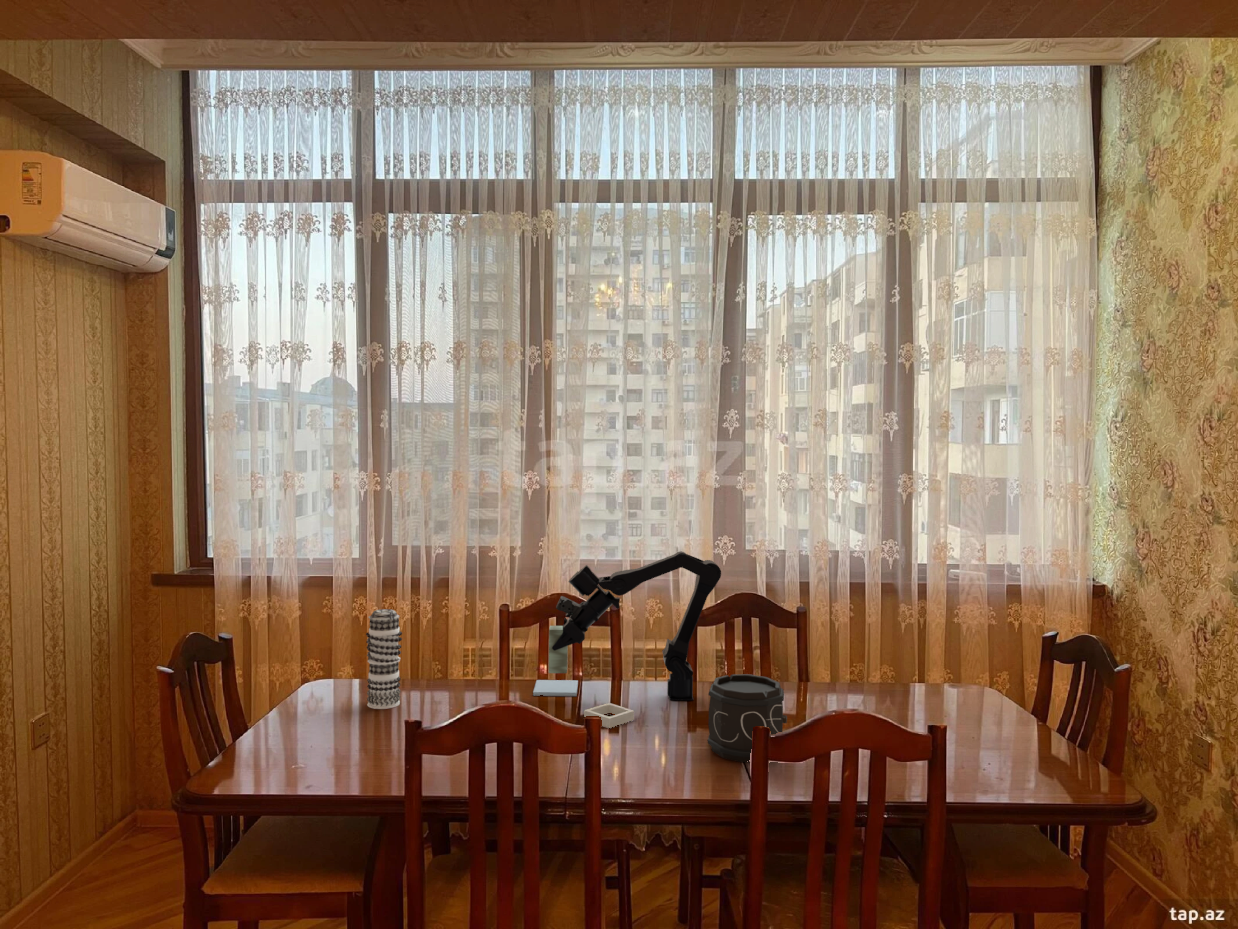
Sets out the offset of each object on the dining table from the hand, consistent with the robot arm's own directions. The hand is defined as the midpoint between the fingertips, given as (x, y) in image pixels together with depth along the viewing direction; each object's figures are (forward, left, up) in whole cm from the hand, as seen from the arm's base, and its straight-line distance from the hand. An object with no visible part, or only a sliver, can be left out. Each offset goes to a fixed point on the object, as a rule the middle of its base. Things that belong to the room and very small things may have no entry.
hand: (553, 647), depth 240 cm
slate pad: (-1, -6, -14) cm, 15 cm away
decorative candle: (+44, +9, -14) cm, 47 cm away
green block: (-1, 0, -7) cm, 7 cm away
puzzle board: (-16, +20, -14) cm, 29 cm away
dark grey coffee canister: (-48, +40, -14) cm, 63 cm away
